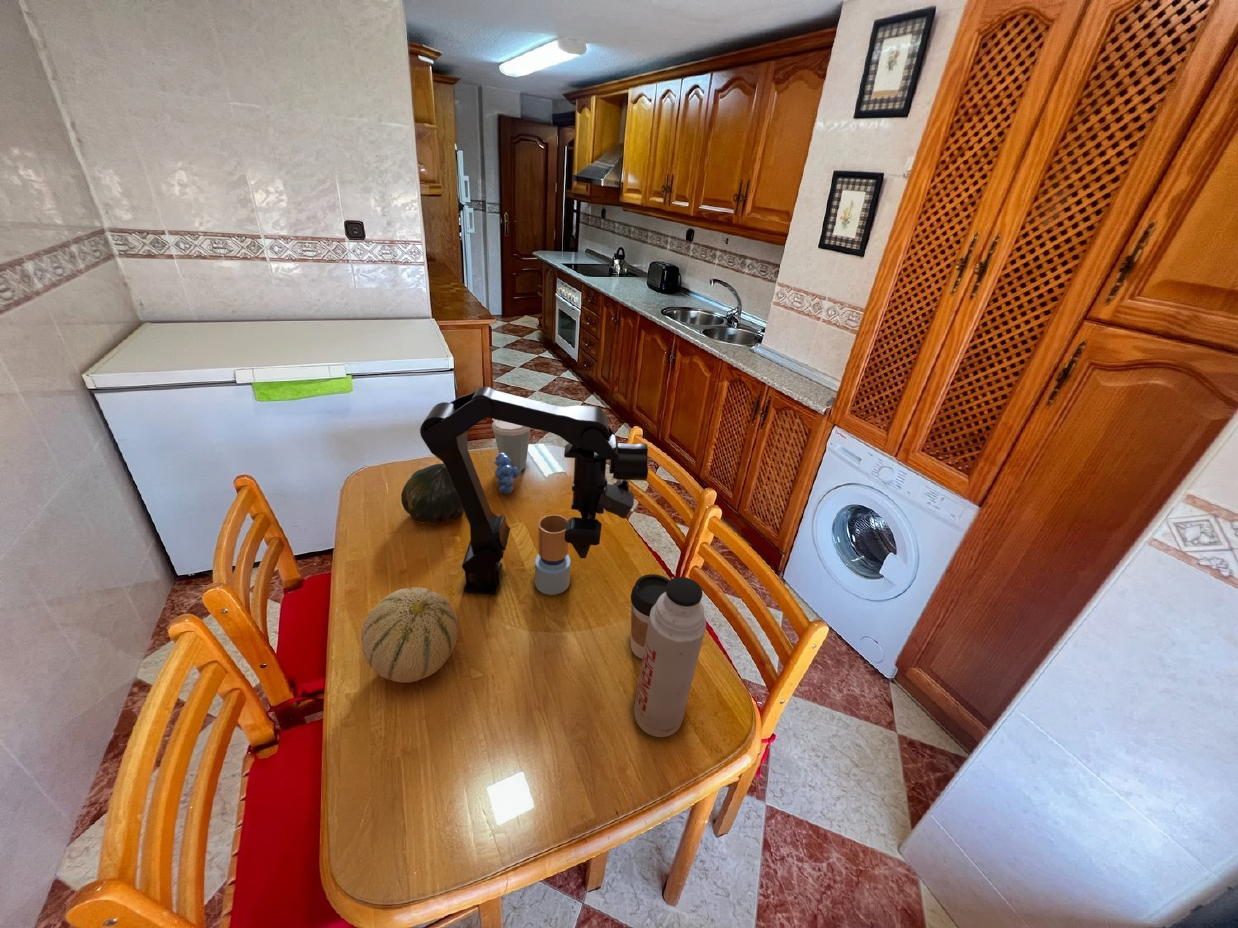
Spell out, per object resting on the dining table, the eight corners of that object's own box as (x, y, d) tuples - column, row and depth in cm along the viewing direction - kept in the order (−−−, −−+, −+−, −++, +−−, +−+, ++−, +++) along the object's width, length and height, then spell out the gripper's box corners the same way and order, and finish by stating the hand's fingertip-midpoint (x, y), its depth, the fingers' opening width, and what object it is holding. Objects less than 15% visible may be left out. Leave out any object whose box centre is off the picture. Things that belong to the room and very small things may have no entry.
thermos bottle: (636, 738, 77) (659, 611, 63) (631, 691, 84) (651, 567, 70) (686, 736, 78) (720, 611, 64) (677, 690, 85) (706, 568, 70)
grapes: (526, 502, 128) (526, 462, 122) (500, 506, 125) (498, 466, 119) (516, 479, 137) (515, 440, 131) (491, 482, 134) (489, 443, 128)
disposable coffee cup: (519, 480, 136) (518, 431, 129) (486, 470, 139) (483, 422, 131) (538, 462, 145) (538, 416, 137) (506, 453, 148) (504, 408, 140)
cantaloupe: (370, 639, 88) (354, 577, 81) (456, 620, 93) (449, 560, 86) (368, 713, 77) (349, 649, 69) (466, 686, 82) (458, 624, 74)
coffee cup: (637, 672, 87) (647, 612, 79) (616, 636, 93) (623, 578, 86) (677, 656, 91) (690, 597, 83) (654, 623, 97) (664, 565, 89)
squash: (388, 486, 119) (400, 463, 108) (448, 470, 129) (464, 447, 117) (410, 540, 117) (425, 523, 106) (468, 519, 127) (488, 501, 115)
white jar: (531, 592, 101) (531, 561, 97) (538, 568, 107) (538, 538, 103) (566, 596, 101) (568, 565, 97) (571, 572, 107) (573, 541, 103)
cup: (535, 559, 97) (535, 531, 94) (541, 540, 102) (541, 513, 99) (565, 562, 97) (567, 534, 94) (570, 543, 102) (571, 516, 99)
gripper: (631, 510, 82) (624, 579, 90) (634, 455, 98) (627, 518, 106) (565, 503, 82) (563, 573, 90) (579, 449, 98) (576, 513, 106)
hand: (585, 542), depth 98 cm, fingers open, 9 cm apart
